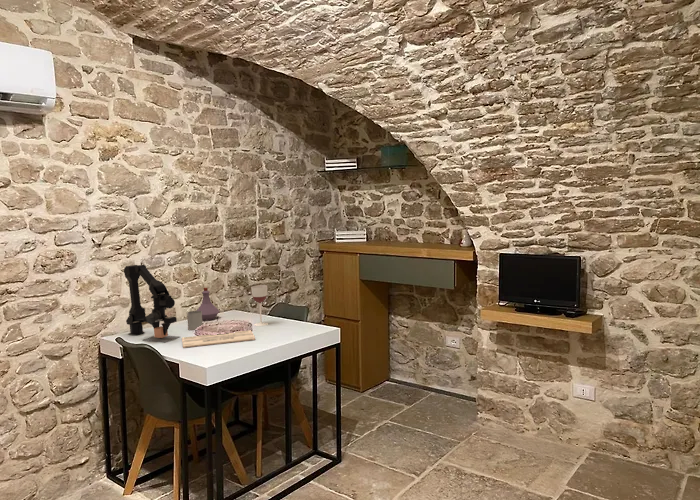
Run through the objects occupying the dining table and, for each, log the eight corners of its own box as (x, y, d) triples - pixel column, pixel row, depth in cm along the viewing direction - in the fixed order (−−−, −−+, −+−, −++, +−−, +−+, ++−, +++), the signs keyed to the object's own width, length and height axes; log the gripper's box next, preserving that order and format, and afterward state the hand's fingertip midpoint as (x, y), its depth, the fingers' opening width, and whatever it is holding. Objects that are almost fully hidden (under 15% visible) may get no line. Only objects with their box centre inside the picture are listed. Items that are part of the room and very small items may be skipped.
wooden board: (250, 333, 311) (250, 329, 311) (255, 341, 293) (255, 336, 293) (182, 341, 300) (181, 336, 299) (183, 350, 281) (182, 344, 281)
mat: (142, 340, 302) (142, 339, 302) (157, 335, 313) (157, 334, 313) (164, 342, 296) (164, 341, 296) (180, 337, 307) (180, 336, 307)
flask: (225, 316, 358) (223, 286, 356) (210, 322, 343) (208, 290, 341) (204, 315, 364) (202, 285, 362) (188, 321, 349) (186, 289, 347)
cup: (198, 330, 321) (197, 313, 320) (185, 330, 323) (184, 313, 322) (205, 327, 329) (204, 310, 329) (192, 327, 331) (191, 310, 330)
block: (154, 337, 303) (153, 328, 303) (160, 335, 308) (160, 326, 307) (161, 337, 301) (160, 328, 301) (167, 335, 306) (167, 326, 305)
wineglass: (272, 323, 334) (270, 285, 332) (261, 326, 326) (259, 288, 324) (260, 321, 339) (259, 284, 337) (249, 325, 331) (247, 287, 329)
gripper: (135, 308, 299) (137, 336, 301) (162, 310, 292) (163, 339, 293) (150, 304, 310) (152, 332, 311) (176, 306, 302) (178, 334, 303)
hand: (161, 334), depth 304 cm, fingers closed on block, 5 cm apart
